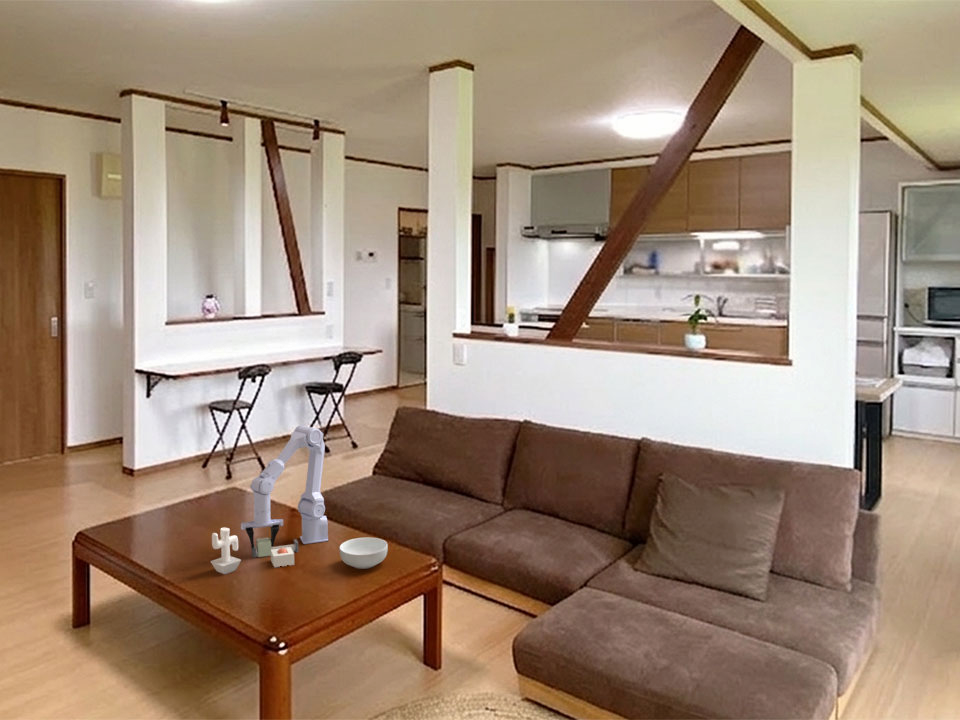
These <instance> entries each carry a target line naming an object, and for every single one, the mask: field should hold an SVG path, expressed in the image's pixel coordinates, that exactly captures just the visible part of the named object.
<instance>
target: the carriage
mask: <svg viewBox="0 0 960 720" xmlns="http://www.w3.org/2000/svg"><path fill="white" fill-rule="evenodd" d="M255 541H256V542H255V544H256V545H255V547H256V549H257V550H258V558H262V557H269V556H270V557H271V547H272V546H271V537H262V538H256V540H255Z"/></svg>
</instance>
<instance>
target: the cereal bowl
mask: <svg viewBox="0 0 960 720" xmlns="http://www.w3.org/2000/svg"><path fill="white" fill-rule="evenodd" d="M388 545H389V544H388V542H387V541H386V540H384V539H382V538H378V537H370V536H369V537H367V536H366V537H365V536H364V537H358V538H357V537H356V538H352V539H348V540H346V541H344V542H342V543H341V544H340V545H339V556H340V559H341V560H342V561H343V563H345V564H346V565H348V566H351V567H353V568H355V569H360V570H362V569H370V568H373V567H375V566H376V565H378V564H381V562H383V561H384V560H385V558H387V554H388V551H389V549H388Z"/></svg>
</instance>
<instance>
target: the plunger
mask: <svg viewBox="0 0 960 720" xmlns="http://www.w3.org/2000/svg"><path fill="white" fill-rule="evenodd" d="M282 553H287V552H286V549H285V548H282V549H279V550H278V554H282Z"/></svg>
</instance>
